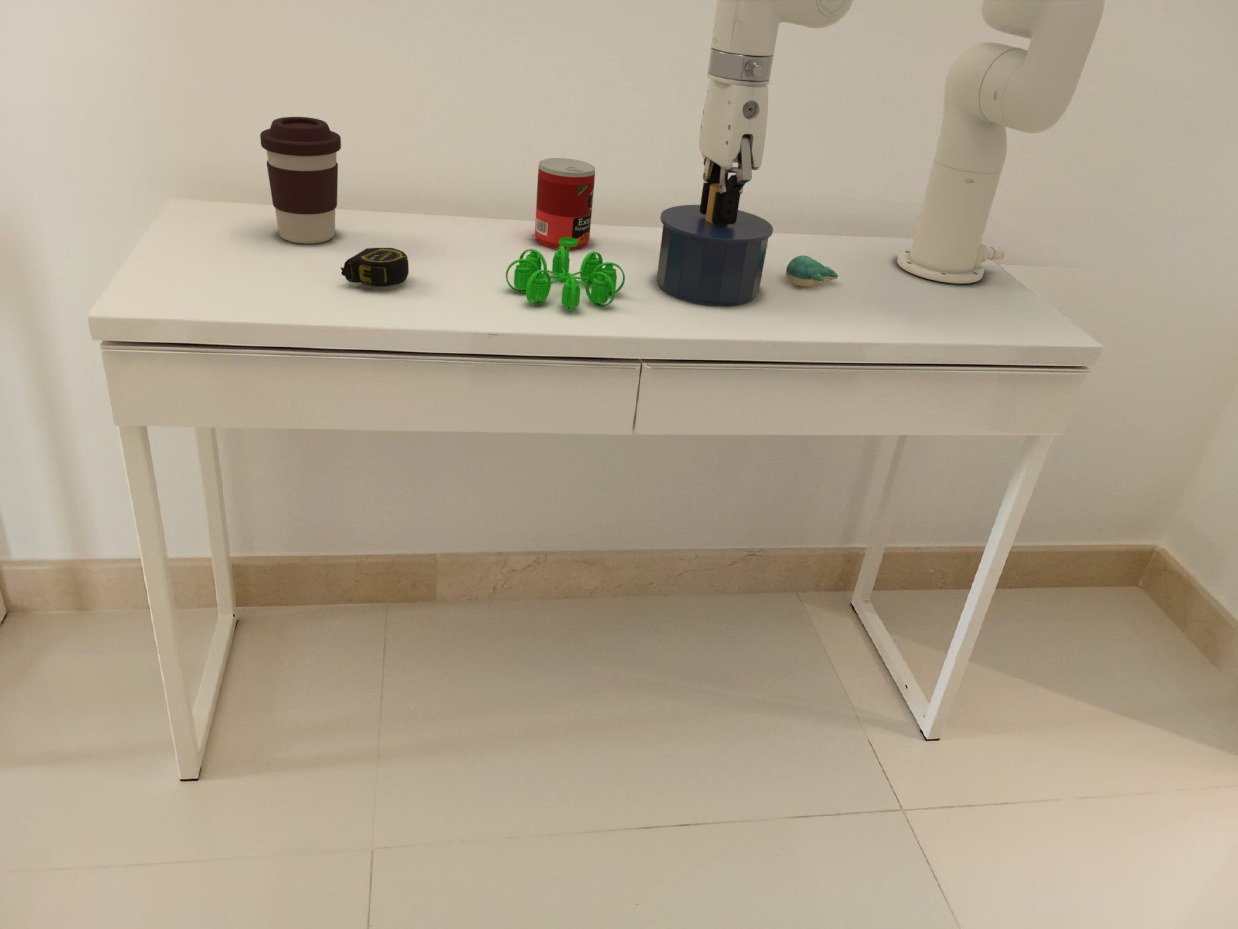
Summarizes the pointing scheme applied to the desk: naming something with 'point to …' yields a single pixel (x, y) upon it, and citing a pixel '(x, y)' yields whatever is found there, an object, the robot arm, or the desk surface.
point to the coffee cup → (303, 177)
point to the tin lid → (702, 227)
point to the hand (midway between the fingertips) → (717, 217)
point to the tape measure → (377, 267)
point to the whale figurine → (808, 272)
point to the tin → (710, 270)
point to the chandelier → (565, 276)
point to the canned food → (564, 201)
